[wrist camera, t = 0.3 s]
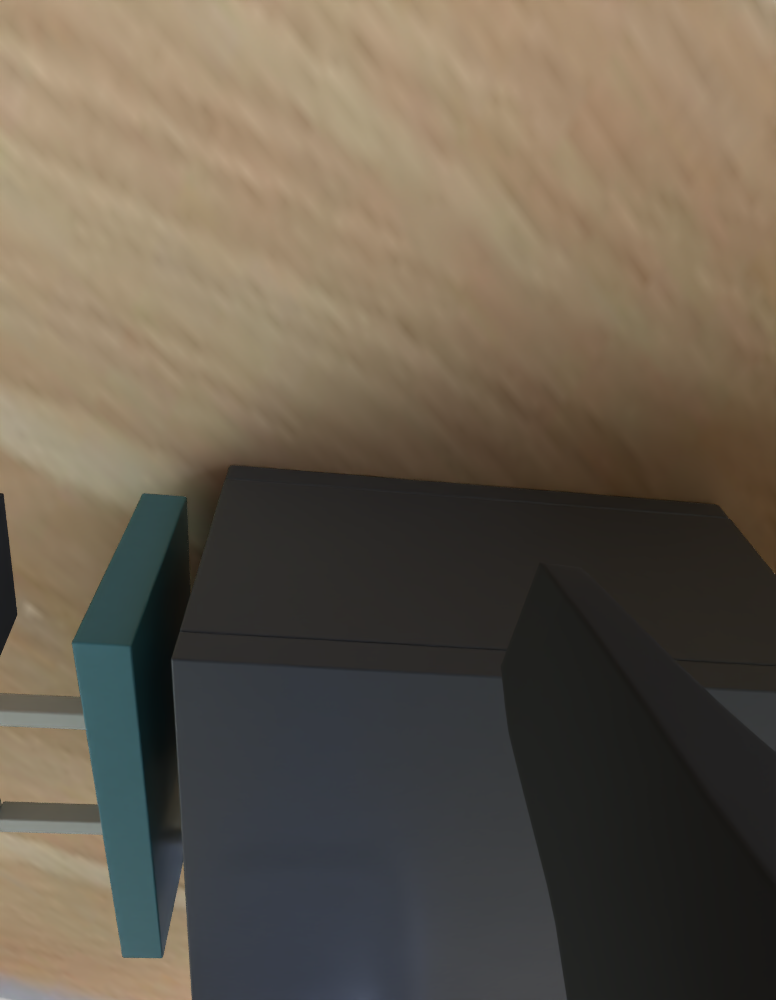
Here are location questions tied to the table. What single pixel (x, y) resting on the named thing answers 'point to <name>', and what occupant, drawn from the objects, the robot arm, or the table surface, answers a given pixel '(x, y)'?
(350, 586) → the cabinet
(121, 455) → the table surface
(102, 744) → the drawer
